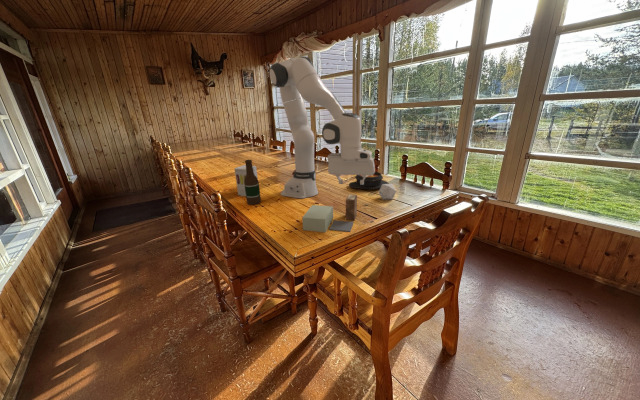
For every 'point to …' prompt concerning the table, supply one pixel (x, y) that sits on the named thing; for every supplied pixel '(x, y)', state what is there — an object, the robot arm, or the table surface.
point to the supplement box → (242, 178)
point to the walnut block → (351, 207)
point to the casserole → (369, 181)
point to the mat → (341, 226)
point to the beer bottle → (251, 185)
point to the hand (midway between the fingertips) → (351, 184)
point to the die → (387, 191)
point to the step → (318, 218)
